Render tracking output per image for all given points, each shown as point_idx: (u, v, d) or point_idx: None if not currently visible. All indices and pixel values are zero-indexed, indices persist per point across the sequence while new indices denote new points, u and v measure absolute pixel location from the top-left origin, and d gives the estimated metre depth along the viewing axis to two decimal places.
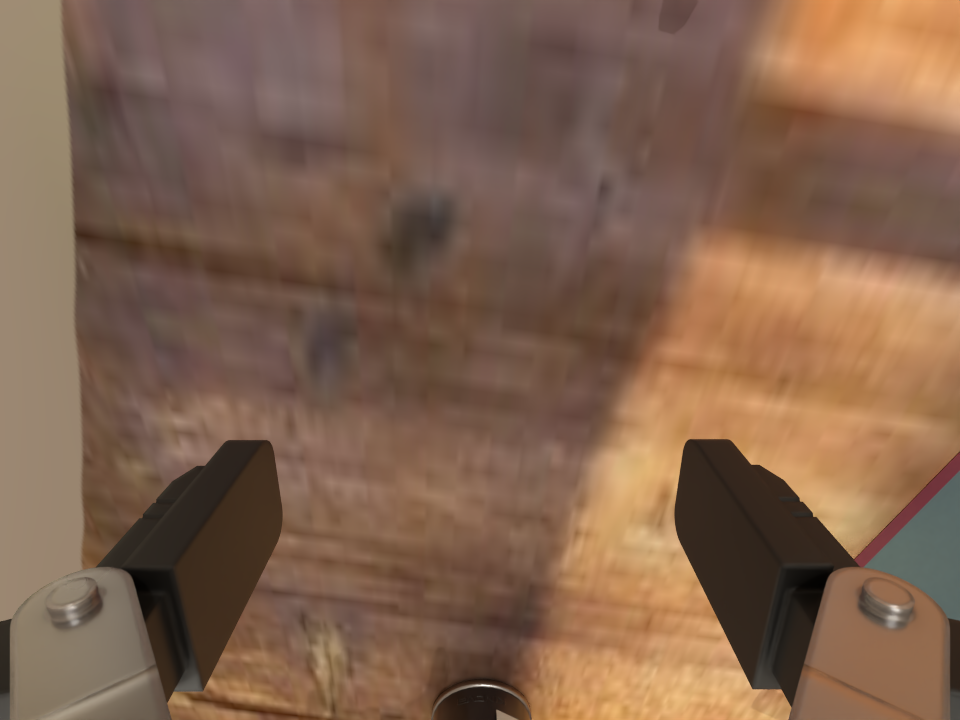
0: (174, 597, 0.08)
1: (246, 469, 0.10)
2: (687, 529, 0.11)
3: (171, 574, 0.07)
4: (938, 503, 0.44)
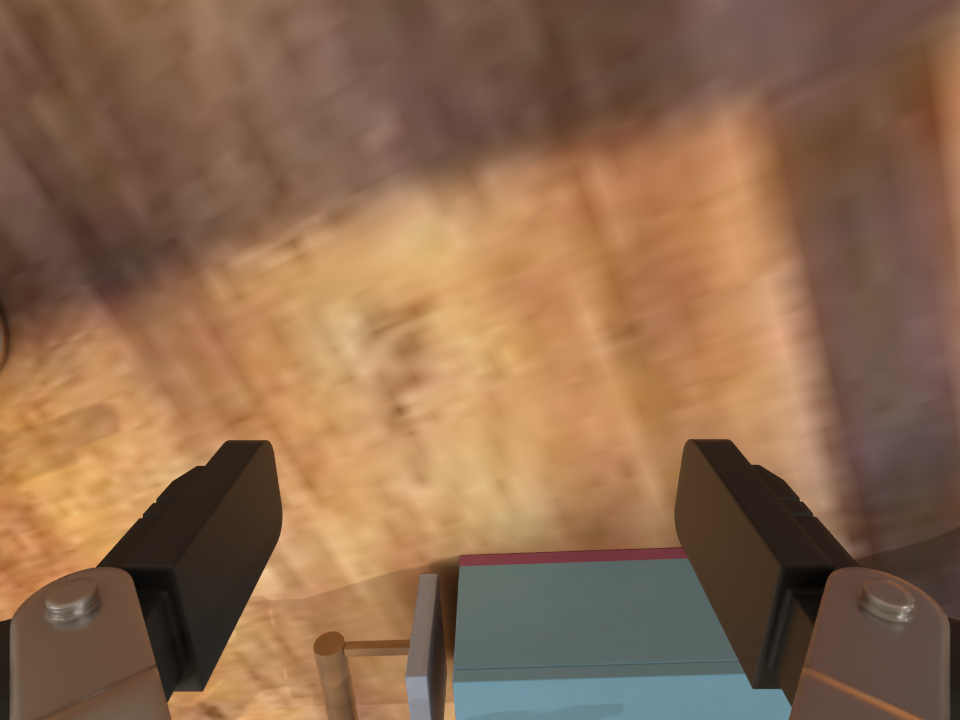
0: (174, 597, 0.08)
1: (246, 469, 0.10)
2: (687, 529, 0.11)
3: (171, 574, 0.07)
4: (594, 568, 0.38)
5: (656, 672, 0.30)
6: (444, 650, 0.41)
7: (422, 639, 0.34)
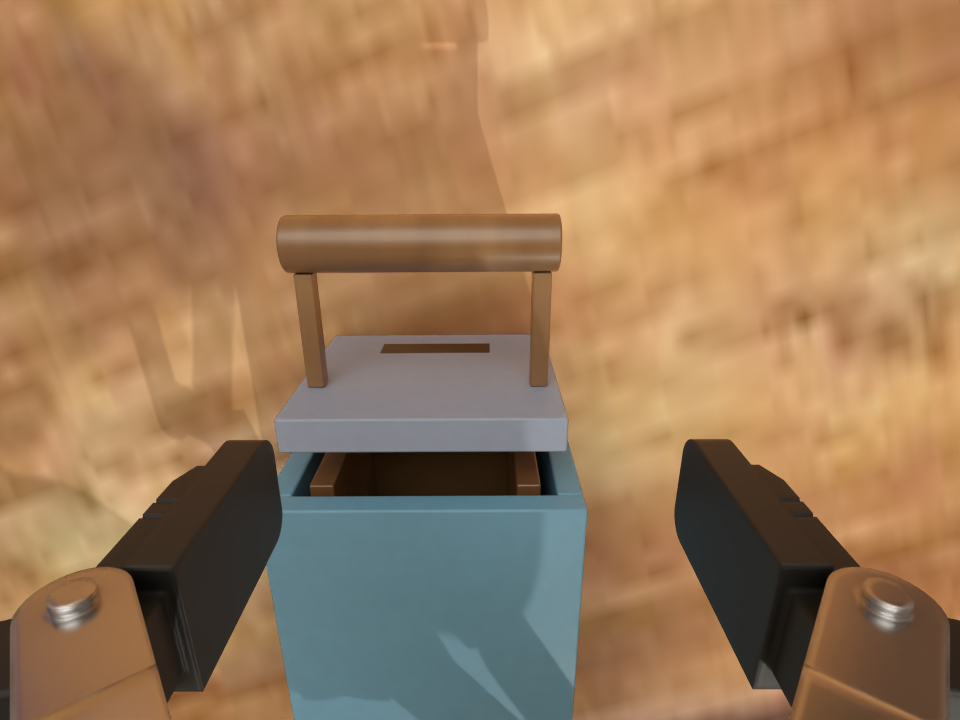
0: (174, 597, 0.08)
1: (246, 469, 0.10)
2: (687, 529, 0.11)
3: (171, 574, 0.07)
4: None
5: None
6: None
7: None
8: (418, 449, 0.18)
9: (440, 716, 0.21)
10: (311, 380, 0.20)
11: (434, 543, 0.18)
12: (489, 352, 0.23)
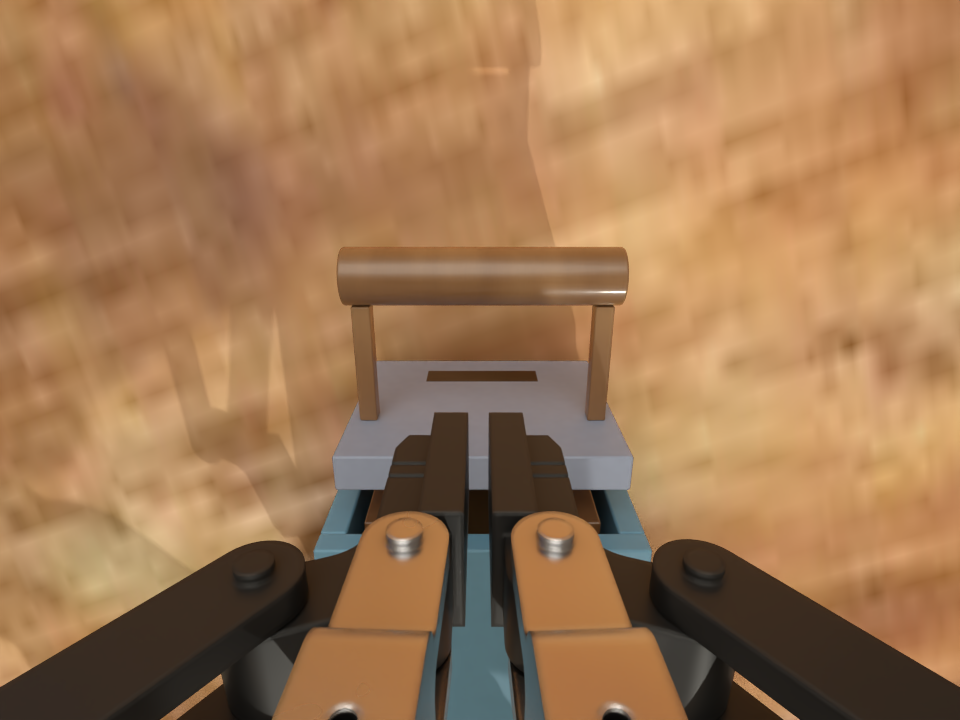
0: (458, 539, 0.09)
1: (467, 436, 0.11)
2: None
3: (462, 518, 0.08)
4: None
5: None
6: None
7: None
8: (478, 487, 0.18)
9: None
10: (364, 413, 0.19)
11: None
12: (537, 381, 0.23)
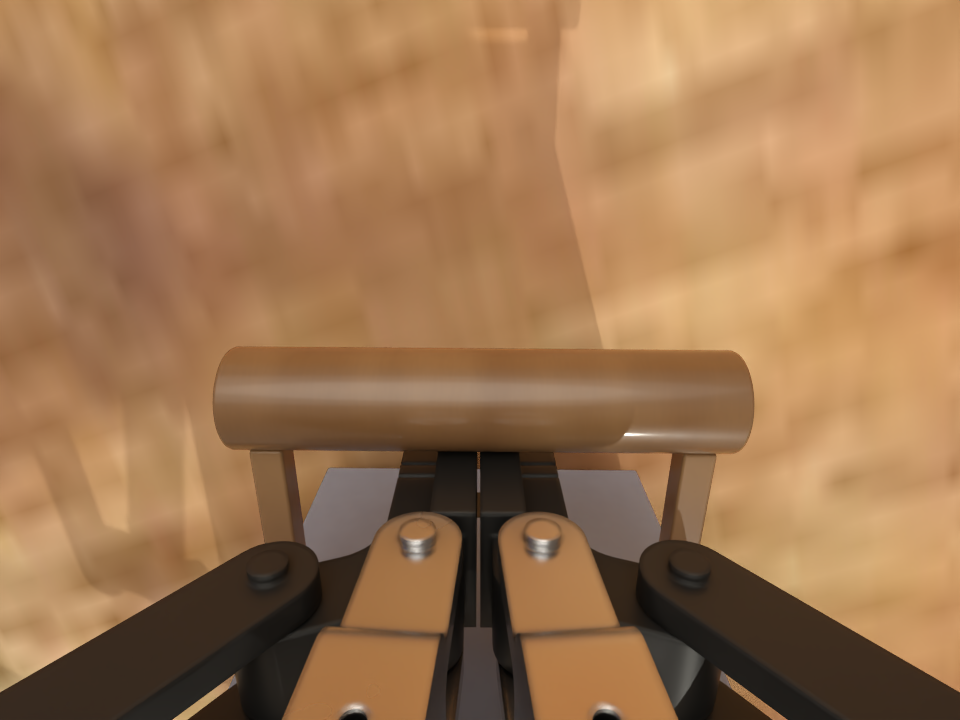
0: (469, 540, 0.09)
1: None
2: None
3: (474, 519, 0.08)
4: None
5: None
6: None
7: None
8: None
9: None
10: None
11: None
12: None
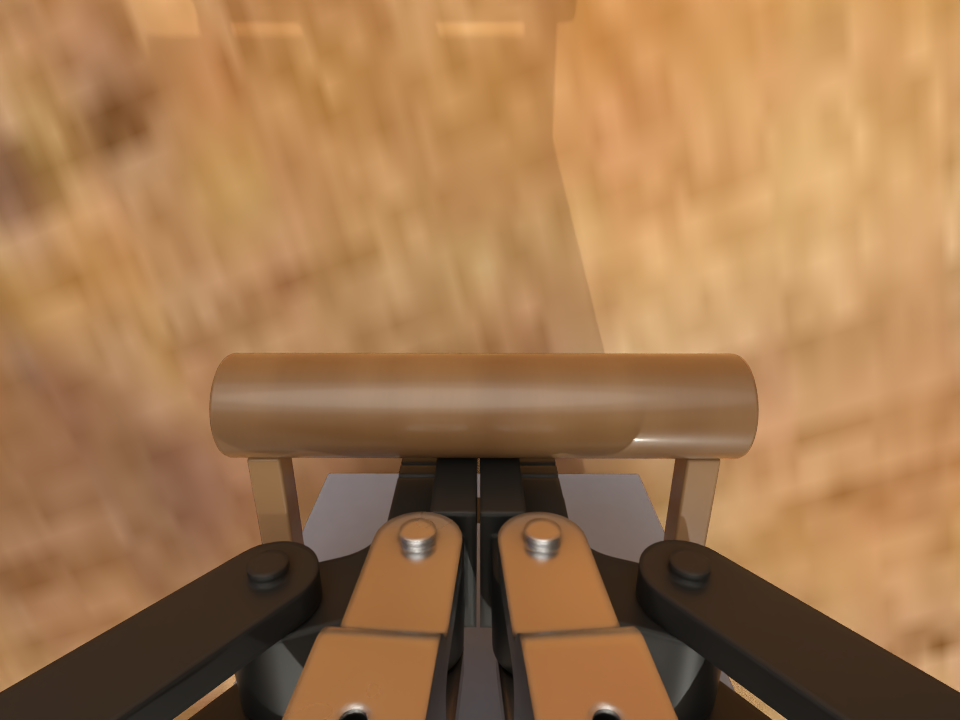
0: (470, 540, 0.09)
1: None
2: None
3: (474, 519, 0.08)
4: None
5: None
6: None
7: None
8: None
9: None
10: None
11: None
12: None
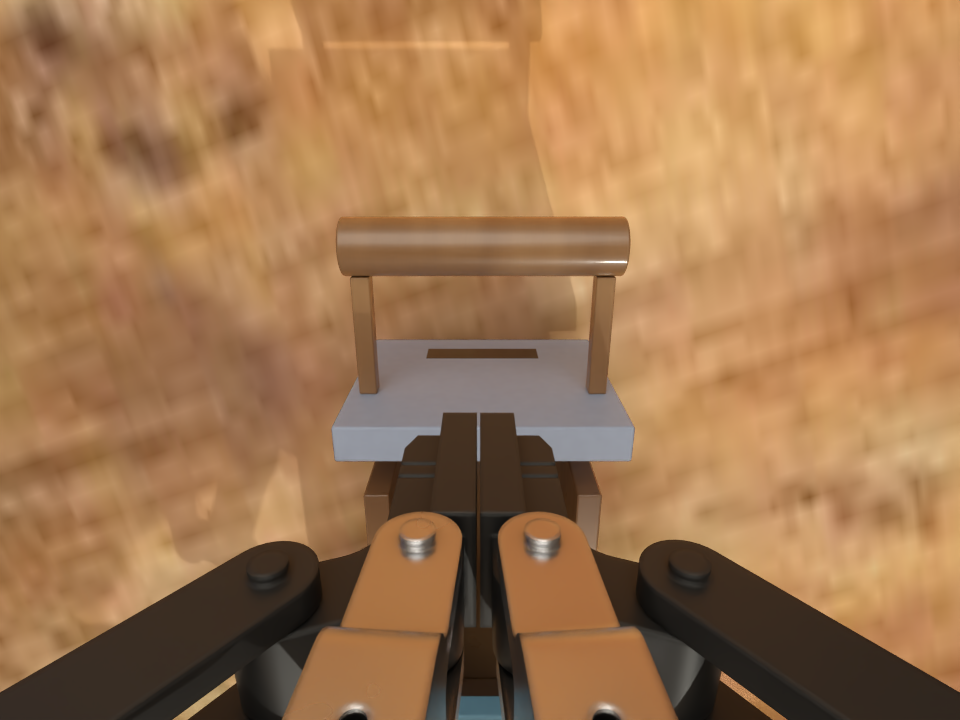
0: (469, 540, 0.09)
1: None
2: None
3: (474, 519, 0.08)
4: None
5: None
6: None
7: None
8: (479, 458, 0.18)
9: None
10: (363, 386, 0.19)
11: None
12: (538, 358, 0.23)
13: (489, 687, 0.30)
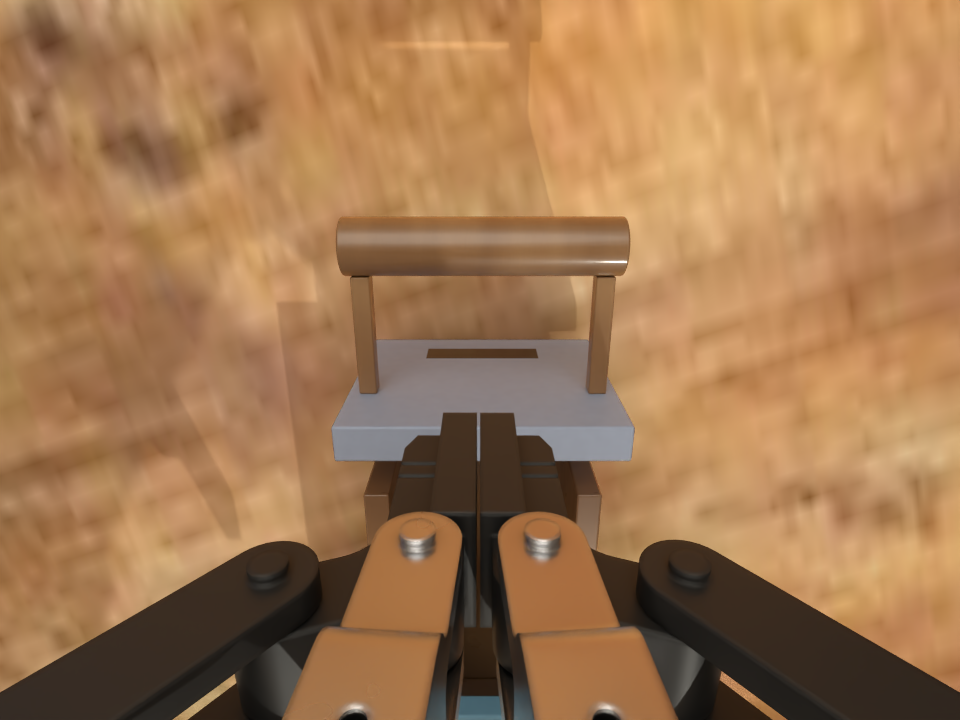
0: (469, 540, 0.09)
1: None
2: None
3: (474, 519, 0.08)
4: None
5: None
6: None
7: None
8: (479, 458, 0.18)
9: None
10: (363, 386, 0.19)
11: None
12: (538, 358, 0.23)
13: (489, 687, 0.30)
